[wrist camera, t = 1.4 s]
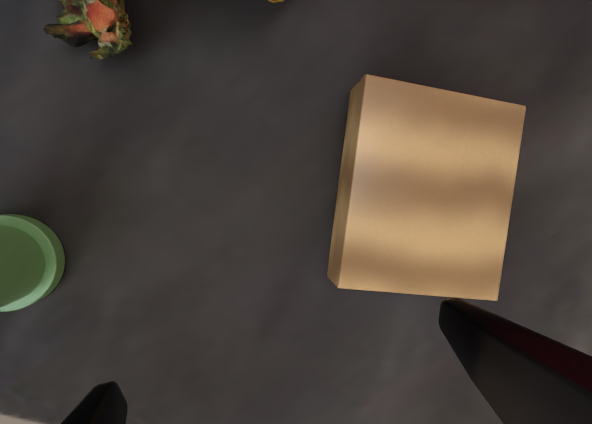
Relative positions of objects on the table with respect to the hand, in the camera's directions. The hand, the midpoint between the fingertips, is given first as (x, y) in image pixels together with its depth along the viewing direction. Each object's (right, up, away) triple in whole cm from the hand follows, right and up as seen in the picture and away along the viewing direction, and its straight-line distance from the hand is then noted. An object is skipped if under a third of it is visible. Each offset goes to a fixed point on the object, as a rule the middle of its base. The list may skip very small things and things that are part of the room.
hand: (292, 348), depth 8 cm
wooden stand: (+9, +5, +15) cm, 18 cm away
